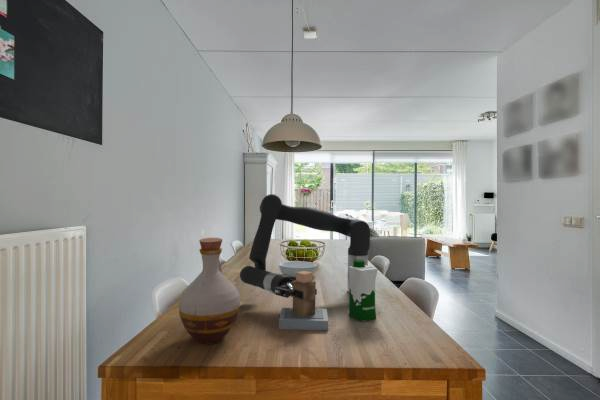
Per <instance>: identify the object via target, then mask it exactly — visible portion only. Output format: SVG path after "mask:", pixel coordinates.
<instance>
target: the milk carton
mask: <svg viewBox="0 0 600 400" xmlns="http://www.w3.org/2000/svg"><path fill="white" fill-rule="evenodd" d="M348 270H349V277H350V292H349V295H348V296H349V302H348V303H349V305H348V317H349V316H350V317H352V318H353V319H355V320H357V321H359V322H366V321H370V320H375V319H377V312H376V278H377V274H378V268H376V267H374V266H370V265H368V266H367V265H365V261H364V260H354V265H353V266H348V265H347V271H348Z"/></svg>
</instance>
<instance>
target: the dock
mask: <svg viewBox="0 0 600 400" xmlns="http://www.w3.org/2000/svg"><path fill="white" fill-rule="evenodd" d="M278 329H279V330H303V331H304V330H305V331H307V330H309V331H329V316H328V310H327V308H315V314H312V315H309V316H306V317H302V316H299V315H297V314H294V313H293V307H282V308H281V310H280V314H279V318H278Z"/></svg>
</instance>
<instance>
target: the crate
mask: <svg viewBox="0 0 600 400" xmlns="http://www.w3.org/2000/svg"><path fill="white" fill-rule="evenodd" d="M292 281H293V289H294V290H298V291H301V292H303V298H302V299H300V298H297V297H292V308H293V313H294V314H297V315H299V316H302V317H306V316H309V315H312V314H315V309H316V295H315V293H316V289H317V288H316V285H317V284H316V281H315V280H313V281H312V282H308V283H301V282H298V281H296V279H295V280H292Z"/></svg>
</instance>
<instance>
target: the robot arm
mask: <svg viewBox="0 0 600 400" xmlns="http://www.w3.org/2000/svg"><path fill="white" fill-rule="evenodd" d="M259 213H260V220H259V225H258V228H257V230H256V232H255V236H254V239H253V242H252V245H251V248H250V249H251V250H250V252H249V256H248V257H249V260H250V261H251V262H253V264H254V266H251V265H246V266H244V267H242V268H241V270H240V272H239V278H240V280H241V281H242V282H243V283H244V284H247V285H250V286H253V287H257V288H259V289H262V290H264V291H267V292H269V293H271V294H274V295H275V296H279V297H282V298H286V299H288V298H290V297H291V298H293V297H297V298H300V299H302V298H303V292H301V291H298V290H294V289H293V281H294V280H293V279H292V277H289V276H286V275H284V274H283V273H282V274H281V273H278V272H272V271H268V270H267V264H266V263H267V260H266V258H267V255H268V252H269V249H270V243H271V238H272V235H273V234H272V233H273V230H274V226H275V223H276V220H277V221H284V222H289V223H292V224H296V225H298V226H304V227H306V228H310V229H314V230H318V231H324V232H334V233H338V234H340V235H344V236H347V237H349V240H350V243H349V247H348V248H347V267H348V266H353V265H354V260H364V261H365V265H367V266H369V250H370V245H371V244H370V243H371V242H370V241H371V229H370V228H371V227H370V225H369V224H368V223H367V222H366V221H364V220H361V219H351V218H346V217H341V216H337V215H335V214H333V213H331V212H328V211H325V210H324V209H323V210H322V209H320V208H315V207H309V206H291V205H286V204H284V203H282V200H281V198H280V197H279V196H278V195H277V194H271V193H270V194H268V195H265V196H264V197H263V198H262V200H261V203H260V205H259ZM347 292H349V293H350V277H349V270H348V269H347ZM317 293H318V290H317V288H316V293H315V296H317Z"/></svg>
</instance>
